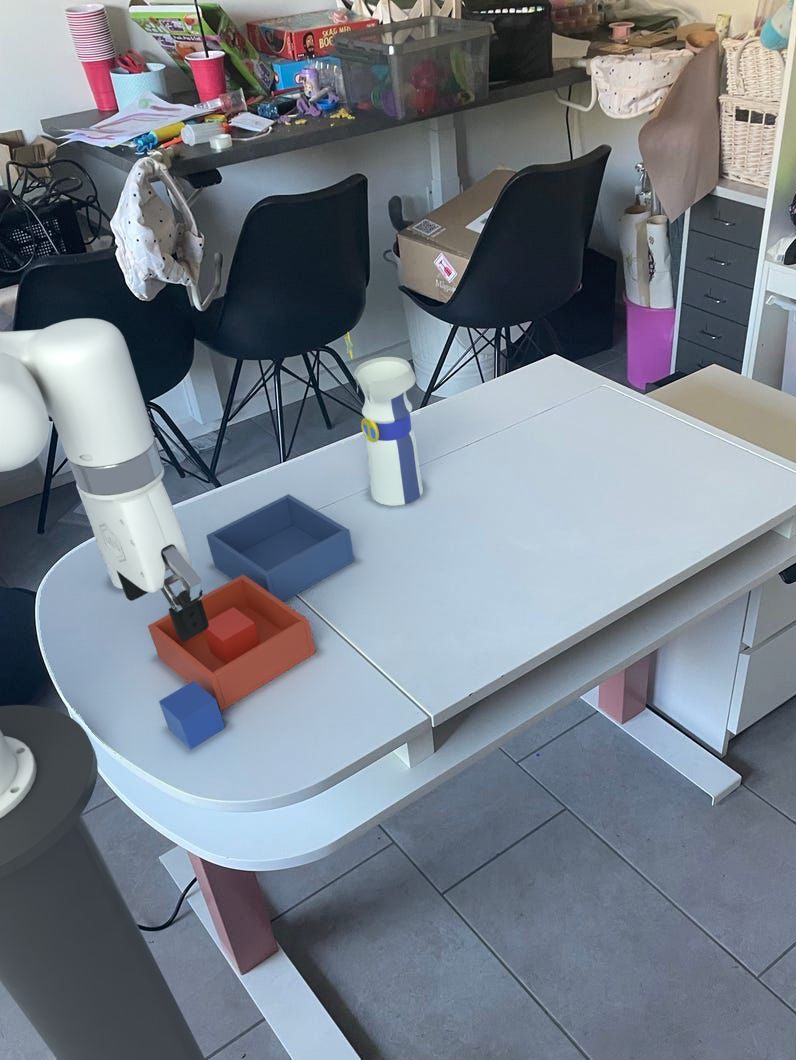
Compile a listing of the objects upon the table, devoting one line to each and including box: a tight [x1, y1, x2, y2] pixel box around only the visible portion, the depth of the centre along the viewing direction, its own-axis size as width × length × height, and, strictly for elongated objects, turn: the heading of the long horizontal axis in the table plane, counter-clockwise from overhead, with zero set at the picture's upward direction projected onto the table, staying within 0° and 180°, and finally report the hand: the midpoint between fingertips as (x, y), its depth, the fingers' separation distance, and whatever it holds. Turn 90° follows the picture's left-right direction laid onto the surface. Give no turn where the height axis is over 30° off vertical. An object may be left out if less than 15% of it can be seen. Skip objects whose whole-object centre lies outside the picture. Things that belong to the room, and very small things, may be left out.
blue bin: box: [205, 493, 355, 603], centre depth 125 cm, size 13×13×5 cm
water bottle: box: [344, 331, 424, 507], centre depth 130 cm, size 8×9×25 cm
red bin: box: [147, 575, 317, 712], centre depth 111 cm, size 13×13×5 cm
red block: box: [204, 607, 260, 665], centre depth 110 cm, size 4×4×4 cm
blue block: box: [158, 681, 226, 750], centre depth 102 cm, size 4×4×4 cm
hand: (167, 613), depth 95 cm, fingers open, 9 cm apart
